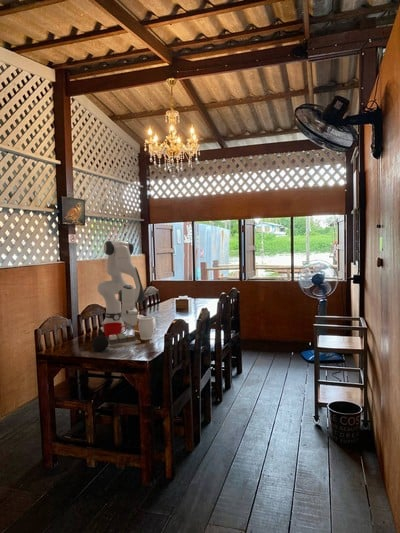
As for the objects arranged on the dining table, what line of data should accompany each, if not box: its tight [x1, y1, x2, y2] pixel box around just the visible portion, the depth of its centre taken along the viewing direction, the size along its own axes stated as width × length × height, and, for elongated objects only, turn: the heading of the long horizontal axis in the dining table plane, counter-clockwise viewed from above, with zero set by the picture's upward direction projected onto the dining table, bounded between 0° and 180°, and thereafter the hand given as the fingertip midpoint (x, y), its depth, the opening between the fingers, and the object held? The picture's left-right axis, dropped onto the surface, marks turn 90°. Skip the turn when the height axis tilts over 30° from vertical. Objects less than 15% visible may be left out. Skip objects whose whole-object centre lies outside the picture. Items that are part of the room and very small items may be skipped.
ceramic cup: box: [102, 322, 128, 339], centre depth 277 cm, size 13×17×10 cm
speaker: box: [91, 335, 108, 353], centre depth 243 cm, size 10×10×10 cm
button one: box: [109, 335, 117, 340], centre depth 257 cm, size 4×4×3 cm
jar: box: [137, 315, 155, 341], centre depth 273 cm, size 11×10×15 cm
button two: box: [118, 332, 127, 339], centre depth 260 cm, size 4×4×3 cm
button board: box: [107, 335, 142, 349], centre depth 261 cm, size 11×22×4 cm, turn 122°
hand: (129, 329), depth 264 cm, fingers closed
